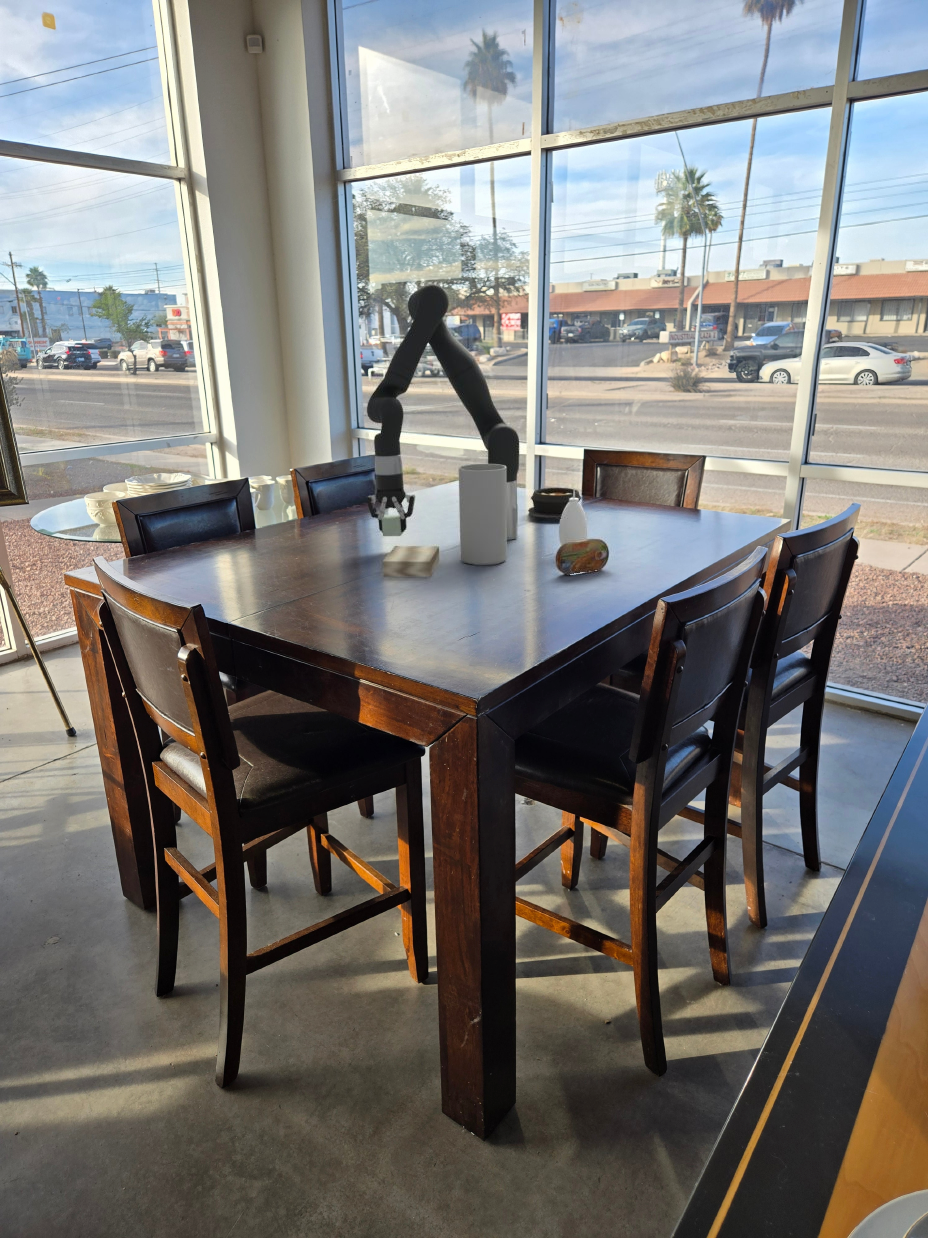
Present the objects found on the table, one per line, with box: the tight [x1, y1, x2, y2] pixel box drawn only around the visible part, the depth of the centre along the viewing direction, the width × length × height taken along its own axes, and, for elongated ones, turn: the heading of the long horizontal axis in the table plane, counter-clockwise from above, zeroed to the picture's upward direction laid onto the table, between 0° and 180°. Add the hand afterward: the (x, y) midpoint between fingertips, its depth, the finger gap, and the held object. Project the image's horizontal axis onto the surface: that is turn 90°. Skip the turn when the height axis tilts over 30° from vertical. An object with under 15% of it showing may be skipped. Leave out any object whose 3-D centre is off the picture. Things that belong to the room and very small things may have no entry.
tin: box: [555, 538, 610, 576], centre depth 201 cm, size 15×3×8 cm, turn 117°
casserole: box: [527, 487, 582, 519], centre depth 267 cm, size 25×19×8 cm
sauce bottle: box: [558, 488, 589, 546], centre depth 217 cm, size 8×8×18 cm
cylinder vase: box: [458, 463, 508, 566], centre depth 211 cm, size 12×12×25 cm
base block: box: [382, 545, 440, 578], centre depth 208 cm, size 12×16×4 cm
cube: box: [382, 514, 404, 537], centre depth 224 cm, size 5×5×5 cm
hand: (393, 531), depth 225 cm, fingers closed on cube, 5 cm apart
